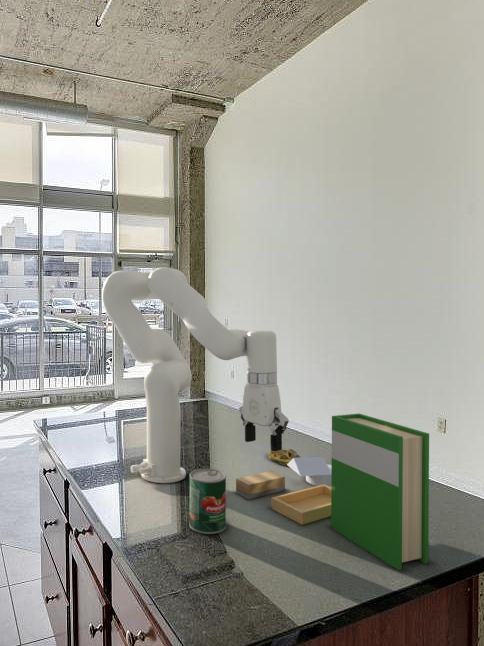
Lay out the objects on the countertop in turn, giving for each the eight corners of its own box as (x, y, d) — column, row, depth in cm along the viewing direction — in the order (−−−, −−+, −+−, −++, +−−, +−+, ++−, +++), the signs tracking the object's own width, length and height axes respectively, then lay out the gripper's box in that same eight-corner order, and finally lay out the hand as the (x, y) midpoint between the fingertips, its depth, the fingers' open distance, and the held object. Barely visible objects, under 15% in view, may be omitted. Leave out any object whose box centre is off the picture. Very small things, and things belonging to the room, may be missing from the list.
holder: (302, 524, 105) (302, 513, 105) (271, 508, 113) (271, 497, 113) (356, 508, 113) (356, 497, 113) (323, 494, 122) (324, 484, 122)
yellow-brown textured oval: (260, 456, 155) (283, 471, 141) (259, 442, 155) (282, 455, 141) (286, 451, 158) (312, 465, 143) (284, 436, 158) (310, 449, 143)
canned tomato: (216, 537, 99) (216, 484, 99) (182, 528, 103) (182, 476, 103) (231, 522, 106) (232, 472, 105) (199, 514, 110) (199, 466, 110)
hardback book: (428, 562, 90) (429, 433, 90) (397, 569, 87) (398, 437, 87) (358, 522, 106) (359, 413, 106) (331, 527, 104) (331, 416, 103)
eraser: (248, 499, 118) (248, 484, 118) (235, 492, 123) (236, 478, 123) (284, 490, 124) (285, 476, 124) (271, 484, 129) (271, 470, 129)
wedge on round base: (300, 489, 125) (347, 486, 127) (300, 463, 125) (347, 461, 127) (286, 476, 134) (330, 474, 136) (287, 452, 134) (330, 450, 136)
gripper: (229, 376, 129) (230, 440, 129) (274, 384, 114) (275, 456, 114) (250, 373, 133) (251, 436, 133) (297, 381, 118) (298, 451, 118)
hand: (262, 445), depth 123 cm, fingers open, 9 cm apart
